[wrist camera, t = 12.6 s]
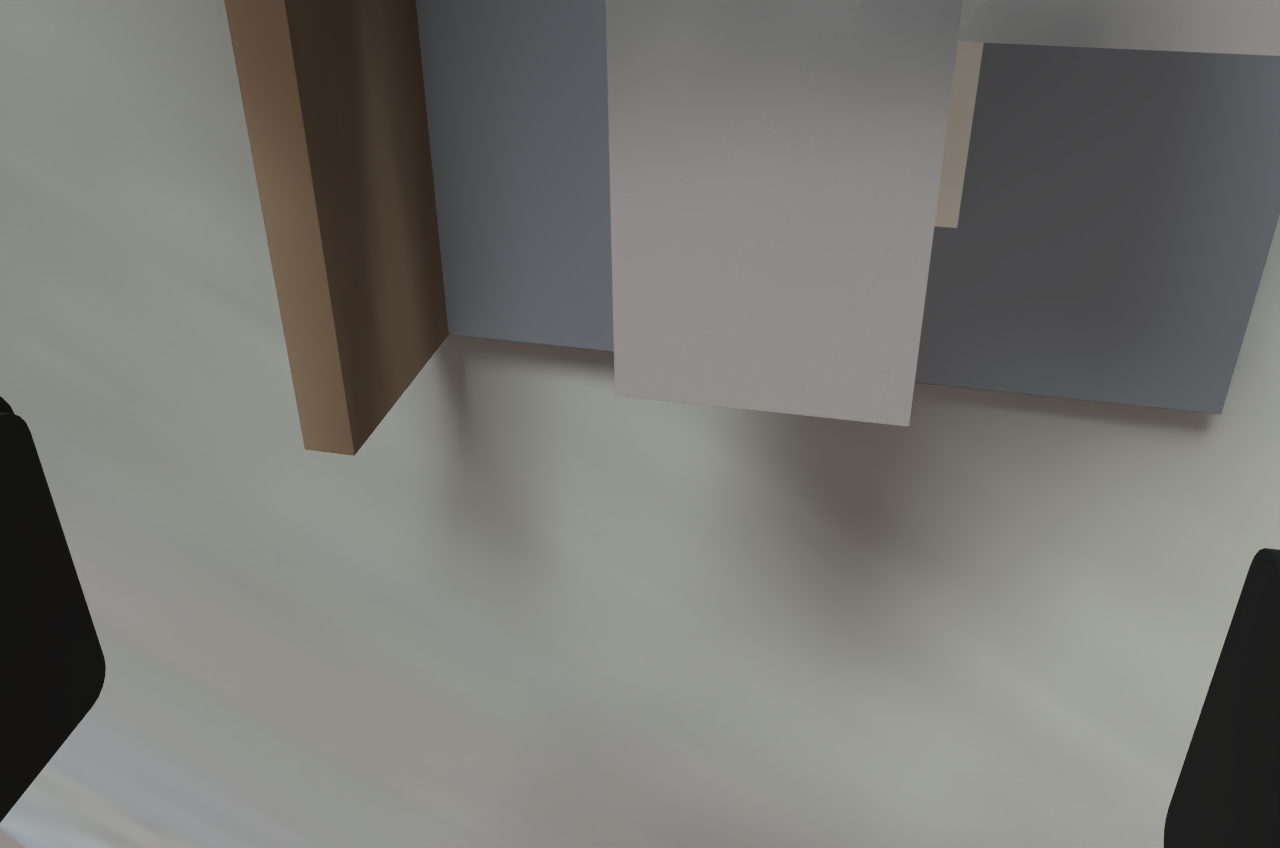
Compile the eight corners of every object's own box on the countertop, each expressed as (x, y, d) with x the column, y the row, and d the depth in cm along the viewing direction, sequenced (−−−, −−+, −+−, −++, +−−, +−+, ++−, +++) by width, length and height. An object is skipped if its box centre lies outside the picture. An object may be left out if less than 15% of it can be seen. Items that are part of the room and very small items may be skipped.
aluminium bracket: (726, -364, 19) (596, -387, 12) (1284, -374, 17) (1493, -409, 10) (712, 191, 23) (615, 395, 17) (1149, 222, 22) (1233, 460, 15)
